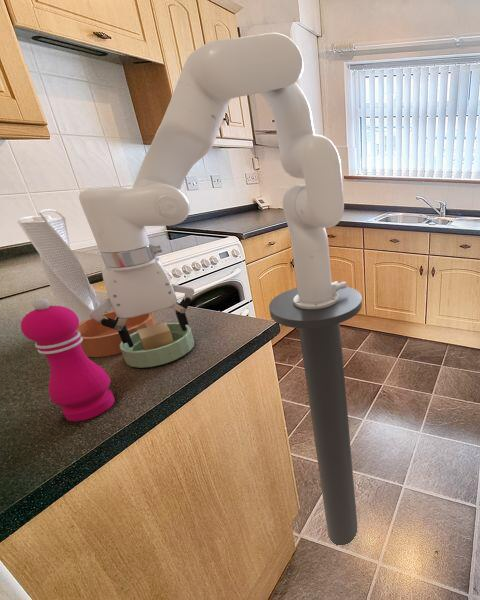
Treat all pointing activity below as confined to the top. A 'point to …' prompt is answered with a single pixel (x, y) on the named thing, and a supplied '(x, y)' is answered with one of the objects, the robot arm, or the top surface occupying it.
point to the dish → (159, 355)
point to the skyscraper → (61, 263)
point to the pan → (108, 334)
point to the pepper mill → (67, 362)
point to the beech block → (155, 336)
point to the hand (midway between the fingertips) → (158, 336)
